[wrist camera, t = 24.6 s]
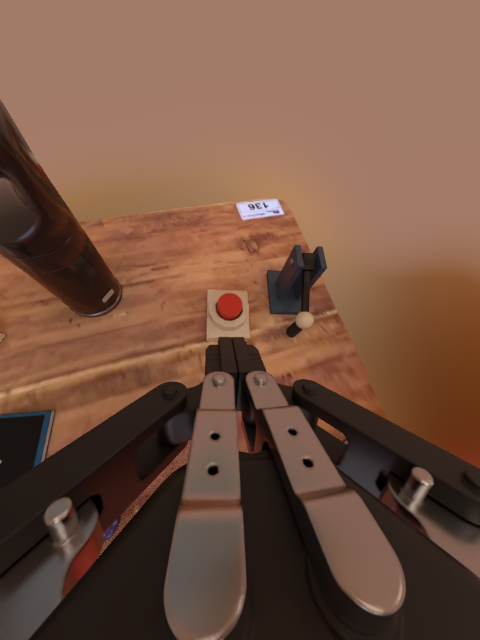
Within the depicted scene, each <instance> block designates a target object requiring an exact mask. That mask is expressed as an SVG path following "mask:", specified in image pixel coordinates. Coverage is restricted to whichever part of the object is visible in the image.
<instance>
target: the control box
mask: <svg viewBox="0 0 480 640" xmlns="http://www.w3.org/2000/svg"><path fill="white" fill-rule="evenodd" d="M225 293H233V294H236V295H238V296H239V297H240V299H241V300H242V304H243V305H242V309H241V312H240V315H239V316H238V317H237V318H235V319H233V320H226V319H224V318H222V317H221V316H220V315H219V314H218V312H217V304H218V299H219V298H220V296H222V295H223V294H225ZM218 337H244V339H245V342H248V341H249V339H250V328H249V304H248V292H247V291H235V290H209V289H208V290H207V337H206V341H218Z"/></svg>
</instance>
